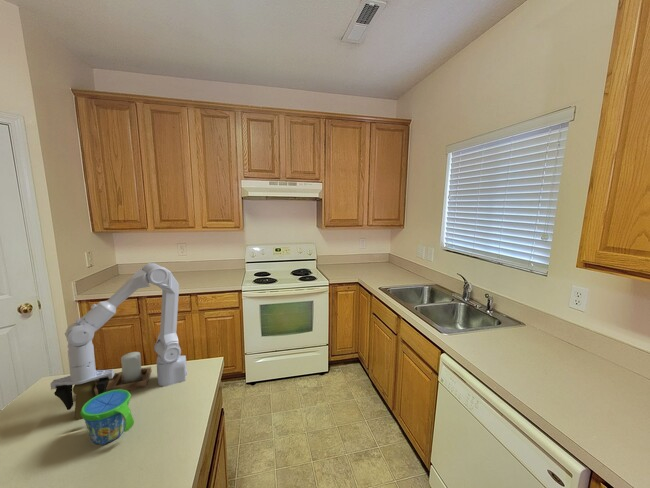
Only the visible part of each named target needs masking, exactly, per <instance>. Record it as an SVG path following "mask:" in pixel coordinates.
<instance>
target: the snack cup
mask: <svg viewBox="0 0 650 488" xmlns="http://www.w3.org/2000/svg"><path fill="white" fill-rule="evenodd" d="M131 397H132V394H131V393H130V392H129V391H127V390H122V389H118V390H111V391H108V392H104V393H102V394H99V395H97V396H95V397H94V398H92V399H90V400H89V401H88V402H86V403H85V404H84V406H83V407H82V410H81V412H80V413H81V416H82V417H83V419H82V420H84V422H85V426H86V428H87V431H88V434H89V438H90V440H91V443H93V444H94V445H102V446H103V445H105V444H107V443H110V442H113V441H115V440H116V439H119V438H120V436H121V435H122V434H123V433H124V432H129V430H130V429H132V427H134V424H135V420H134V417H133V415H132V412H131V409H130V407H129V406H130V405H129V403H130V401H131Z"/></svg>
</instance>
